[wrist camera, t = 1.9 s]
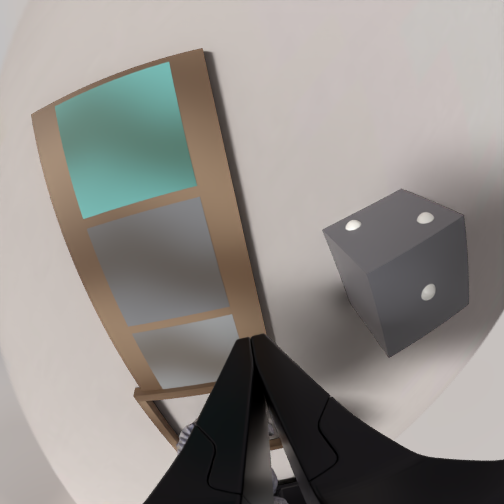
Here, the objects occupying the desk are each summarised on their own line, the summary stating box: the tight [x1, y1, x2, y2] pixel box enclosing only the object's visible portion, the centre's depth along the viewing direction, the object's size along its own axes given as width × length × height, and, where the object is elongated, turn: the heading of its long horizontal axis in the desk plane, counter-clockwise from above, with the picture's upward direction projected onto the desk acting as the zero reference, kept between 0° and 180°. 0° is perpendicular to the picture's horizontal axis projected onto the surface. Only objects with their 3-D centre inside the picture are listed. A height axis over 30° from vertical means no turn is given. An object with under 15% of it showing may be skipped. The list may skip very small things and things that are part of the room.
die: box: [322, 189, 469, 357], centre depth 10 cm, size 4×4×4 cm
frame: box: [134, 381, 283, 451], centre depth 15 cm, size 8×8×1 cm
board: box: [31, 48, 267, 391], centre depth 11 cm, size 15×7×1 cm, turn 11°
